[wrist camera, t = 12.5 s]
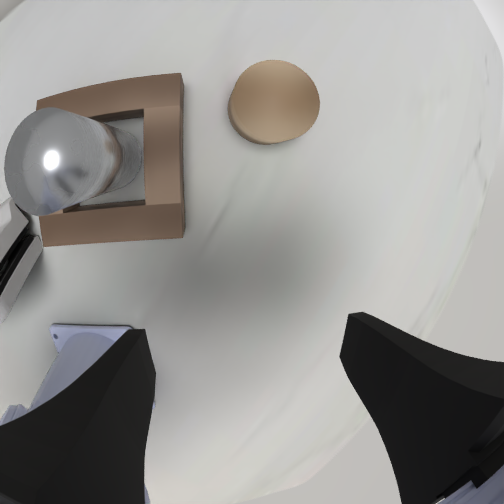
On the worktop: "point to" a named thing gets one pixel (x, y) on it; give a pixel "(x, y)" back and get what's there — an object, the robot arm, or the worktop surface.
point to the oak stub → (273, 102)
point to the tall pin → (66, 160)
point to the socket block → (155, 163)
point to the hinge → (14, 254)
